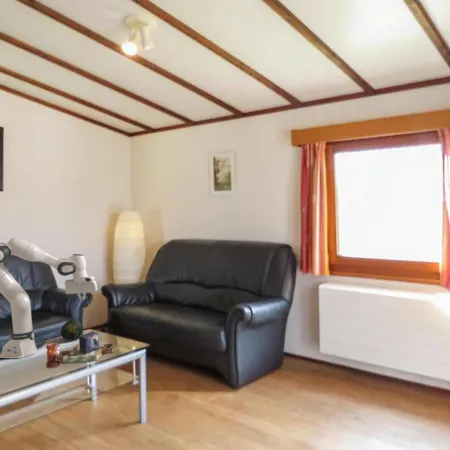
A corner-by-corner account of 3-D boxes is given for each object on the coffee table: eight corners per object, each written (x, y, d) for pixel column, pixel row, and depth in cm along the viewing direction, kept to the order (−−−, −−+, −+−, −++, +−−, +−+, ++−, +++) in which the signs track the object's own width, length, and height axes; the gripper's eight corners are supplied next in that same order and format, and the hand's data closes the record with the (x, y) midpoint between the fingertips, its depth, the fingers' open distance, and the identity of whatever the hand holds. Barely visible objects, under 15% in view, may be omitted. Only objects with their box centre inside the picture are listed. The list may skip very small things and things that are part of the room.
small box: (86, 354, 276) (84, 337, 276) (79, 352, 280) (77, 336, 280) (100, 348, 285) (98, 332, 284) (93, 347, 289) (92, 331, 288)
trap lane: (52, 363, 263) (52, 358, 263) (67, 349, 289) (67, 344, 288) (107, 359, 263) (107, 354, 263) (117, 345, 289) (117, 340, 288)
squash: (55, 336, 301) (69, 317, 303) (58, 331, 316) (72, 313, 317) (73, 348, 303) (87, 329, 305) (75, 342, 318) (89, 324, 320)
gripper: (62, 280, 293) (64, 301, 294) (94, 278, 293) (96, 299, 294) (66, 279, 299) (68, 299, 300) (97, 276, 299) (99, 297, 300)
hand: (82, 299), depth 297 cm, fingers closed
